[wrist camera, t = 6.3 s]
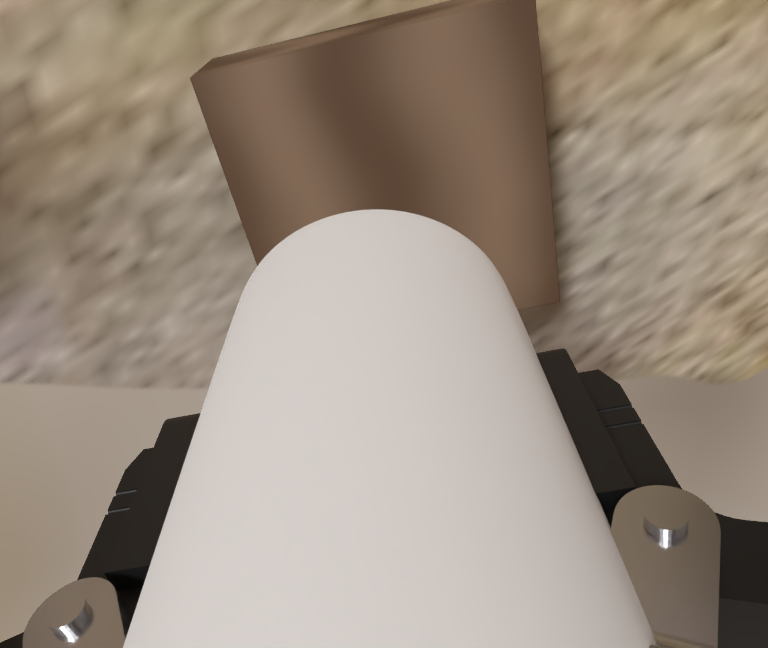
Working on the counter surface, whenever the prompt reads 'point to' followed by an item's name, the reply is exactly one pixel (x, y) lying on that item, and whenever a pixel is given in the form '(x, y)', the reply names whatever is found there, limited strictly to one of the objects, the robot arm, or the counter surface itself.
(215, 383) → the can
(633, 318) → the counter surface
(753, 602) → the robot arm
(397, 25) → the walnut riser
